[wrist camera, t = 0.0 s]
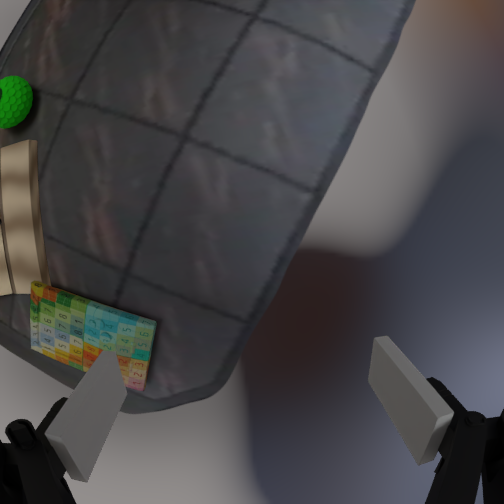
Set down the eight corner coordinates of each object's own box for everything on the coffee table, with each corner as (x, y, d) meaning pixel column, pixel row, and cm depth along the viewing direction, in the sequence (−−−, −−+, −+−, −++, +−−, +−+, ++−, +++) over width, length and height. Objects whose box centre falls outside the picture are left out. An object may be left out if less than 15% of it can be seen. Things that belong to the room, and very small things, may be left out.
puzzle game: (142, 394, 41) (28, 351, 39) (148, 377, 46) (41, 338, 43) (153, 328, 39) (27, 284, 36) (160, 314, 44) (43, 275, 41)
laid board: (6, 149, 37) (-3, 149, 35) (37, 140, 37) (28, 139, 35) (21, 288, 42) (13, 293, 40) (52, 288, 42) (44, 294, 40)
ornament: (38, 73, 35) (2, 56, 25) (46, 114, 36) (7, 103, 27) (4, 99, 35) (-34, 89, 25) (11, 139, 37) (-30, 135, 27)
